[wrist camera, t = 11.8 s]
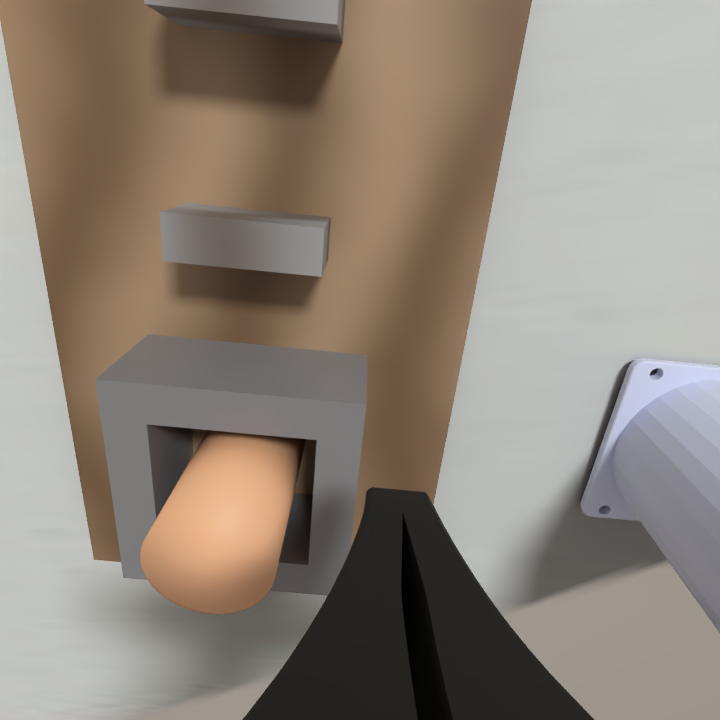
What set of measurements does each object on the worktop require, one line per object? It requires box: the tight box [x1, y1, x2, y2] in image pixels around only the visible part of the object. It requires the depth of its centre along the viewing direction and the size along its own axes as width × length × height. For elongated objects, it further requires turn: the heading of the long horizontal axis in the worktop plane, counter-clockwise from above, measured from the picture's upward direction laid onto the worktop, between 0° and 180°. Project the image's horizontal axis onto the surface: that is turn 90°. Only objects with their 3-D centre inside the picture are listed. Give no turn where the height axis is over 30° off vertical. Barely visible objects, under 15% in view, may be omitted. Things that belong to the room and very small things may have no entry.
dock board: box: [0, 0, 532, 562], centre depth 18 cm, size 16×26×4 cm, turn 175°
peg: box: [140, 430, 305, 614], centre depth 18 cm, size 4×4×7 cm
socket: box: [95, 334, 368, 595], centre depth 19 cm, size 9×9×4 cm
